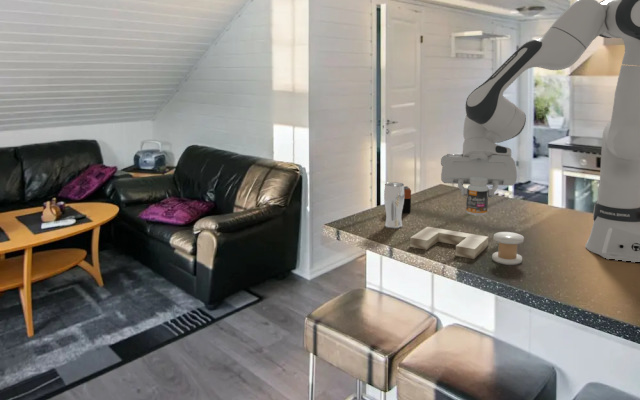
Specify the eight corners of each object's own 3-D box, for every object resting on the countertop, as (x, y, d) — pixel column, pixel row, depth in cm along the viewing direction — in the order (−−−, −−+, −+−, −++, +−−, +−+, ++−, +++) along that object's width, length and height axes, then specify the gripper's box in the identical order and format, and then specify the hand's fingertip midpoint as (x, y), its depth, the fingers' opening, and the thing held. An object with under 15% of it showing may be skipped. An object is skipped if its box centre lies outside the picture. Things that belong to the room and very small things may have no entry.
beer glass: (401, 222, 181) (402, 181, 177) (405, 228, 174) (406, 186, 171) (382, 223, 181) (382, 182, 177) (385, 229, 174) (386, 186, 170)
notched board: (487, 246, 156) (488, 236, 155) (474, 259, 146) (474, 249, 145) (427, 235, 167) (427, 226, 166) (410, 246, 157) (410, 237, 156)
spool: (525, 257, 146) (527, 234, 144) (517, 266, 139) (519, 242, 138) (496, 252, 150) (498, 230, 148) (488, 261, 144) (490, 237, 142)
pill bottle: (466, 215, 139) (468, 180, 136) (465, 209, 144) (467, 175, 142) (488, 216, 137) (490, 180, 135) (486, 210, 143) (488, 176, 140)
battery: (391, 210, 197) (391, 185, 195) (408, 210, 197) (409, 185, 195) (392, 213, 193) (393, 187, 191) (410, 213, 193) (411, 187, 191)
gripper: (441, 147, 146) (438, 188, 139) (517, 148, 140) (518, 191, 134) (441, 160, 151) (438, 200, 144) (514, 161, 146) (515, 203, 139)
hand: (477, 195), depth 139 cm, fingers closed on pill bottle, 6 cm apart
